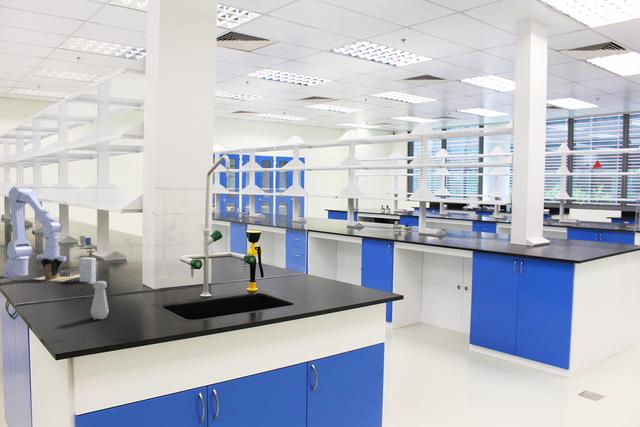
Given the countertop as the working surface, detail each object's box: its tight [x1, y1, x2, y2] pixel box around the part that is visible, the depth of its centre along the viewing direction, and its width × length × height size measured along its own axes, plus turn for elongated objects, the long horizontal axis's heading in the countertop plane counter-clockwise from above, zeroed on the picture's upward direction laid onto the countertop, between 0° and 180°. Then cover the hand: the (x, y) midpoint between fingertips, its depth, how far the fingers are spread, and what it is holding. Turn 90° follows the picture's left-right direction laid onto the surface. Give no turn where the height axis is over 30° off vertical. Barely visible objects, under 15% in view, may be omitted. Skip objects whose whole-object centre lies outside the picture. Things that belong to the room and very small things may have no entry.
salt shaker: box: [90, 280, 110, 320], centre depth 174 cm, size 6×6×13 cm
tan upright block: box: [44, 264, 57, 281], centre depth 237 cm, size 3×4×7 cm, turn 169°
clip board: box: [33, 268, 80, 282], centre depth 245 cm, size 16×22×3 cm
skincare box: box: [78, 257, 97, 285], centre depth 236 cm, size 6×4×12 cm
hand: (51, 275), depth 237 cm, fingers closed on tan upright block, 3 cm apart
